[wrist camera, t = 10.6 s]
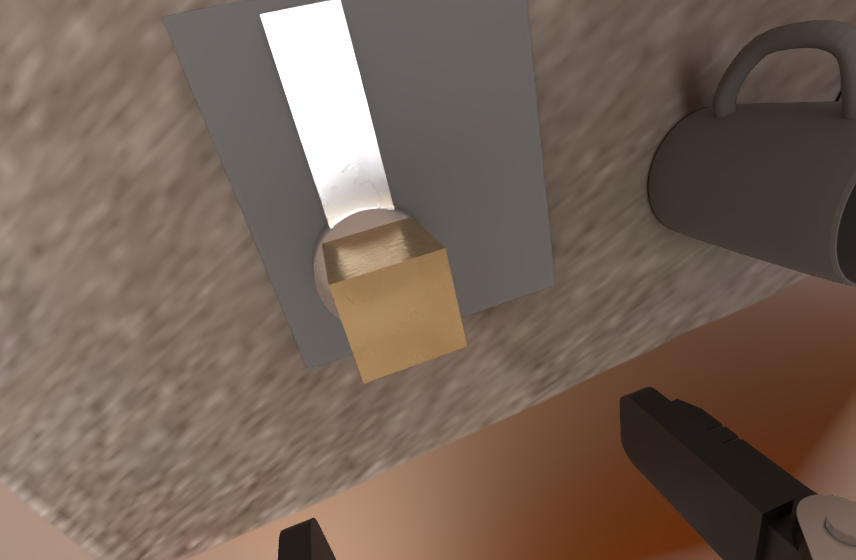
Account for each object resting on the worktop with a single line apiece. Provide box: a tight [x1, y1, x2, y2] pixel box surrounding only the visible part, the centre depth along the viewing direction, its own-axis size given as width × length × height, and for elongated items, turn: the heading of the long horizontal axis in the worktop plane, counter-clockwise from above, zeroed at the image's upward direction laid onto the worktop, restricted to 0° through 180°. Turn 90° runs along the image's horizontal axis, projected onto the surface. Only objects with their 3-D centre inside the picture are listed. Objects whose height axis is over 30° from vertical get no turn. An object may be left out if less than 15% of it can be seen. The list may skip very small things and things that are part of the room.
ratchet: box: [260, 0, 411, 320], centre depth 21 cm, size 7×16×6 cm, turn 13°
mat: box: [162, 0, 555, 370], centre depth 25 cm, size 18×20×1 cm
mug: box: [648, 20, 856, 287], centre depth 25 cm, size 14×9×12 cm
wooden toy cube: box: [322, 217, 467, 383], centre depth 21 cm, size 5×5×6 cm
